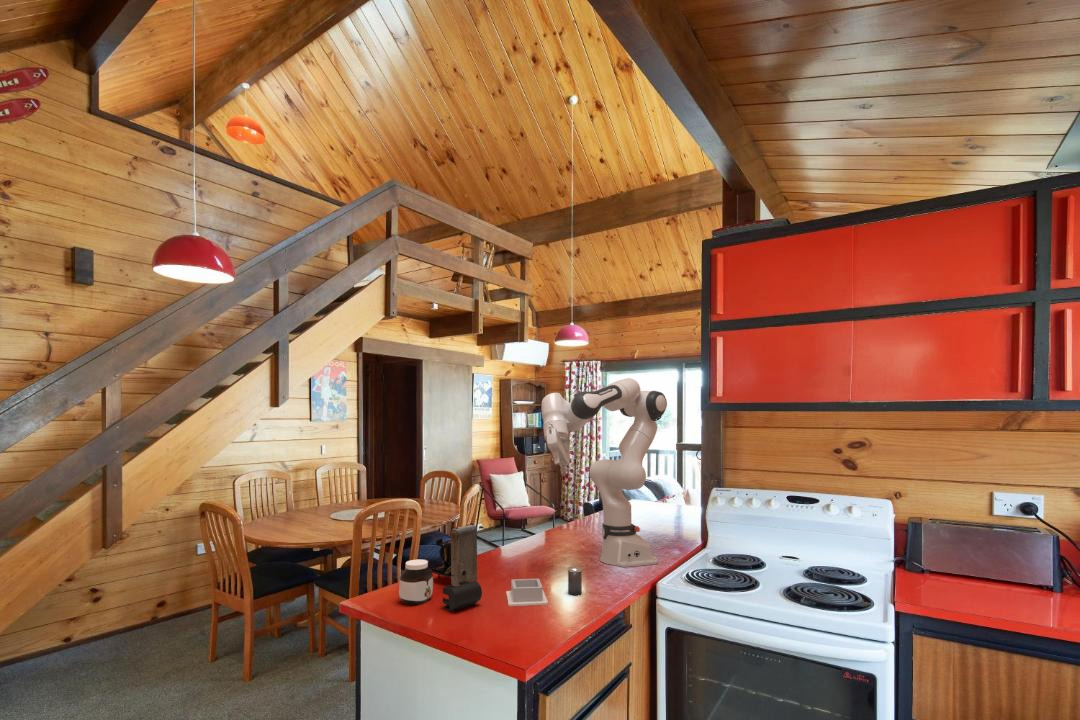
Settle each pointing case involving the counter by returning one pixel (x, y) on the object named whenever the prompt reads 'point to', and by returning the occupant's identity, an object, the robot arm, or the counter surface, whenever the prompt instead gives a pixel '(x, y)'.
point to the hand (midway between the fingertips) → (560, 469)
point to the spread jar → (416, 582)
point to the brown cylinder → (574, 580)
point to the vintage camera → (459, 555)
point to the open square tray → (526, 593)
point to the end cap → (461, 595)
